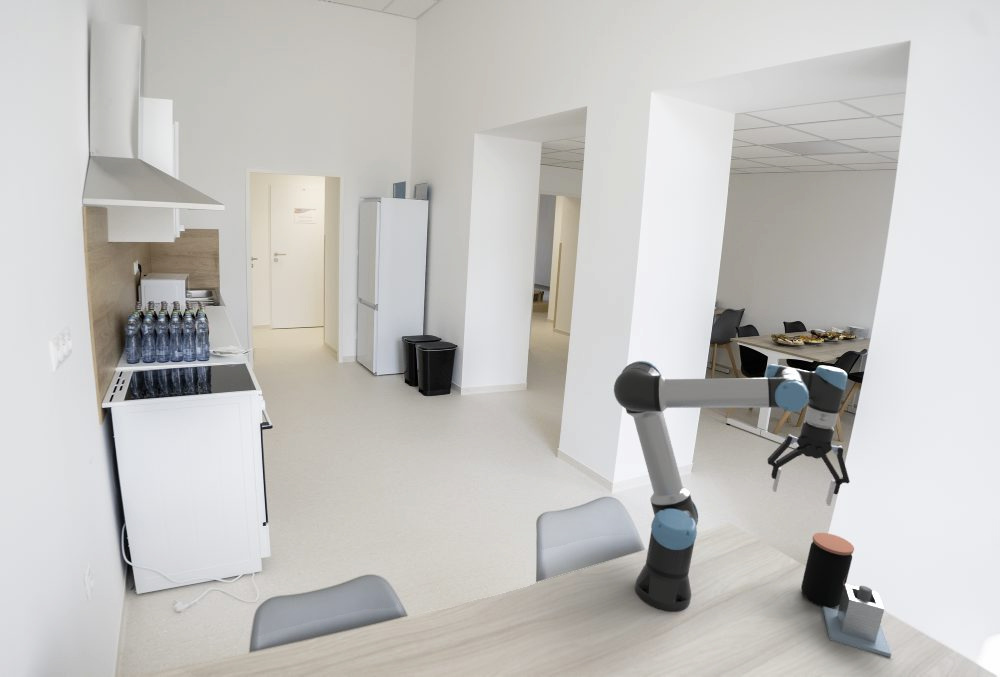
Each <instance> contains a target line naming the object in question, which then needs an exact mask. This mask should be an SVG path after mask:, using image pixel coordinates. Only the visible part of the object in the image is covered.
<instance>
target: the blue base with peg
mask: <svg viewBox="0 0 1000 677" xmlns="http://www.w3.org/2000/svg"><path fill="white" fill-rule="evenodd" d="M858 587H859V590H858V594H857V598H856V599H860V600H864V601H867V602H870V598H871V594H872V591H873V590H872V589H871V588H870V587H868V586H865V585H860V586H858ZM822 613H823V616H824V621H825V624H826V628H827V632H828V638H829V640H830V641H834V642H836V643H840V644H844V645H847V646H851V647H854V648H858V649H859V650H860V649H861V650H864V651H868V652H870V653H875V654H878V655H881V656H885V657H888V658H891V656H892V651H891V649H890V647H889V644H888V641H887V639H886V635H885V633H884V631H883V628H882V625H881V624H880V627H879V631H878V635H877V639H876V642H875V643H874V642H871V641H867V640H864V639H860V638H857V637H853V636H850V635H846V634H843V633H841V630H840V626H839V622H838V618H837V613H838V609H834V608H828V607H822Z"/></svg>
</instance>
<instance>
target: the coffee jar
mask: <svg viewBox="0 0 1000 677" xmlns="http://www.w3.org/2000/svg"><path fill="white" fill-rule="evenodd" d="M854 552H855V547H854V545H853V544H852V543H851V542H850V541H848V540H847V539H845V538H843V537H841V536H838V535H835V534H832V533H828V532H817V533H814V534H813V536H812V542H811V543H810V546H809V552H808V556H807V559H806V564H805V569H804V573H803V578H802V582H801V586H800V587H801V588H800V589H801V593H802V594H803V596H804V598H805V599H806V600H807V601H809V602H810V603H812V604H814V605H816V606H818V607H821V608H823V607H828V608H831V609H834V608H837V607H839V605H840V601H841V597H842V592H843V588H844V584H847V580H848V577H849V574H850V568H851V564H852V559H853V553H854Z"/></svg>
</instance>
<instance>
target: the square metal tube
mask: <svg viewBox="0 0 1000 677" xmlns="http://www.w3.org/2000/svg"><path fill="white" fill-rule="evenodd" d="M859 587H860V586H856V585H853V584H848V583H846V584H844V588H843V592H842V597H841V601H840V605H838V609H837V610H838V613H837V618H838V622H839V626H840V630H841V633H843V634H846V635H850V636H853V637H857V638H860V639H864V640H867V641H871V642H874V643H875V642H876V639H877V635H878V631H879V627H880V625H881V623H882V619H883V615H884V612H885V607H884V605H883V602H882V599H881V597H880V594H879V593H878V591H875V590H872V594H871V598H870V602H867V601H864V600H860V599H856V598H857V594H858V590H859Z"/></svg>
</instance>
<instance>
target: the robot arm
mask: <svg viewBox="0 0 1000 677" xmlns="http://www.w3.org/2000/svg"><path fill="white" fill-rule="evenodd" d="M847 380H848V374H847V372H846V371H845V370H843V369H841V368H839V367H834V366H830V365H823V364H822V365H818V366H817V367H816V369H815V370H814V371H808V370H803V369H800V368H795V367H790V366H784V365H783V364H780V365H779V364H778V365H777V364H772V363H771V364H768V365H767V367H766V369H765V372H764V377H741V378H740V377H737V378H736V377H734V378H732V377H731V378H726V377H725V378H677V379H676V378H673V379H672V378H671V379H670V378H665V377H664V376H663V375H662V373H661V372H660V369H659V368H658V367H657V366H656V365H654V364H653V363H651V362H649V361H645V360H639V361H634V362H632V363H629V364H628V365H626V366H625V367H624V368H623V370H622V371H621V373H620V374H619V375H618V376H617V378H616V380H615V382H614V385H613V394H614V398H615V400H616V401H617V403H618V404H619V405H620V406H621V407H623V408H624V409H625V411H626V414H628V415H629V416H631V417H632V418H633V421H634V423H635V428H636V432H637V435H638V439H639V443H640V446H641V450H642V454H643V458H644V462H645V466H646V469H647V473H648V477H649V479H650V483H651V486H652V487H651V488H652V491H653V494H651V496H650V504H651V507H652V512H653V515H654V517H653V520H652V522H651V527H650V528H651V530H650V536H649V542H648V549H647V554H646V560H645V564H644V566H643V568H642V569H641V571H640V573H639V575H638V576H637V578H636V581H635V587H634V589H635V593H636V594H637V596H638V597H639V598H640V599H641V600H642V601H643V602H644V603H646V604H647V605H649V606H651V607H653V608H655V609H656V608H657V609H658V610H663V611H667V612H677V611H682V610H683V611H684V610H685V609H686V608H688V607H689V606H690V604H691V597H692V590H691V585H690V584H691V583H690V578H689V572H690V567H691V562H692V557H693V552H694V551H693V550H694V546H695V540H696V539H697V533H698V532H697V530H698V529H697V526H698V522H699V512H698V509H697V506H696V504H695V502H694V501H693V500H692V496H691V492H690V490H689V489H687V488H685V487H684V486H683V483H682V479H681V476H680V470H679V467H678V464H677V460H676V456H675V453H674V448H673V445H672V441H671V438H670V435H669V434H670V433H669V429H668V427H667V423H666V419H665V415H664V411H665V410H666V409H668V408H670V409H672V408H676V409H677V408H678V409H680V408H682V409H683V408H685V409H686V408H694V409H695V408H696V409H697V408H699V409H700V408H701V409H702V408H706V409H709V408H712V409H713V408H714V409H715V408H723V409H724V408H726V409H727V408H732V409H733V408H739V409H740V408H749V409H750V408H751V409H753V408H758V409H759V408H760V409H761V408H764V409H765V408H769V409H770V408H774V409H775V408H777V409H779V408H781V409H782V410H784V411H786V412H789V413H790V412H791V413H792V412H793V413H794V412H799V411H802V409H804V408H805V407H806V411H805V415H804V421H803V422H802V427H801V430H800V434H799V436H798V437H796V436H794V435H792V434H791V433H787V434H786V436H785V440H784V441H783V442H782V443H781V444H780V445H779V446H778V447H777V448H776V449H775V450H774V451H773V453H771V454H770V455H769V457H768V458H767V464H768V466H769V465H770V466H771V467H772V471H771V474H770V475H771V479H773V483H772V492H774V493H775V492H777V489H778V485H779V482H780V477H781V473H782V467H783V466H784V465H786V464H787V463H789V462H791V461H792V460H794V459H796V458H797V457H800V456H802V455H804V457H809V458H814V459H817V460H818V459H822V461H823V462H824V463H825V465H826V467H827V469H828V471H829V473H830V474H831V476H832V477H833V479H832V478H831V482H830V484H829V488H828V491H827V494H826V495H827V496H826V500H825V503H826V506H832V500H833V496H834V495H838V494H839V492H840V487H841V485H843V484H849V483H850V482H851V481H850V479H849V478H850V477H849V474H848V470H847V468H846V467H847V466H846V463H845V460H844V457H843V455H844V448H843V446H842V445H841V444H838V445H832V441H833V435H834V432H835V429H834V427H836V424H837V421H838V416H839V414H840V409H841V405H842V402H843V398H844V394H845V391H846V385H847ZM806 405H807V406H806ZM794 443H797V444H798V446H797V447H795V448H794V449H793V450H791V451H790V452H788V453H786V454H785V455H783V453H785V451H786V450H787V449H788V448H789V447H790V445H793V444H794ZM830 451H831V452H833V454H834V455H836V457H837V458H836V459H837V462H838V464H839V469H840V471H841V472H840V473H841V475H842V476H839V473H838V472H837V470H836V468H835V467H834V465H833V464H832V462H831V460H830V458H829V457H828V455H827V454H828V453H830ZM782 455H783V456H782ZM779 457H780V458H779Z"/></svg>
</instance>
